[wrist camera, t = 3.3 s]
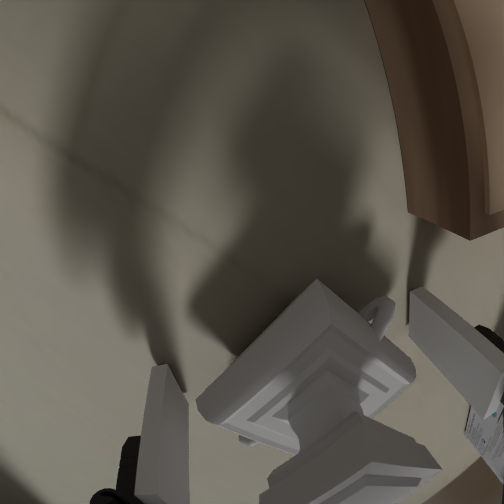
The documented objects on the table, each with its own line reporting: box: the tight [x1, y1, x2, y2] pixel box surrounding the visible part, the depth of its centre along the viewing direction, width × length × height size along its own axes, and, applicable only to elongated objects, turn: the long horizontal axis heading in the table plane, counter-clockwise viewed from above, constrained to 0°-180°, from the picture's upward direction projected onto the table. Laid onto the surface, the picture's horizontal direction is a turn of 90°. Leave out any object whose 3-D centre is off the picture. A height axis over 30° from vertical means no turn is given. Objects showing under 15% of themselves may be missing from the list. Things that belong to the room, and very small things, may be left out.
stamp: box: [196, 279, 442, 504], centre depth 10 cm, size 9×7×8 cm
